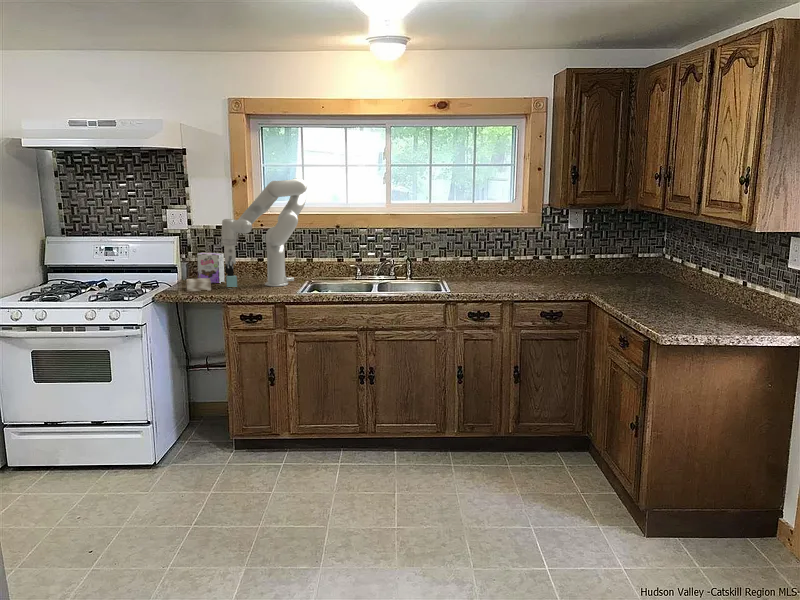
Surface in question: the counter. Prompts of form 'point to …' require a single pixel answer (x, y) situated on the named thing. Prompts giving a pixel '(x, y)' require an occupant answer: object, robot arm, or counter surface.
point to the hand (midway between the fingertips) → (229, 274)
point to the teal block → (231, 281)
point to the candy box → (211, 266)
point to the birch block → (198, 284)
